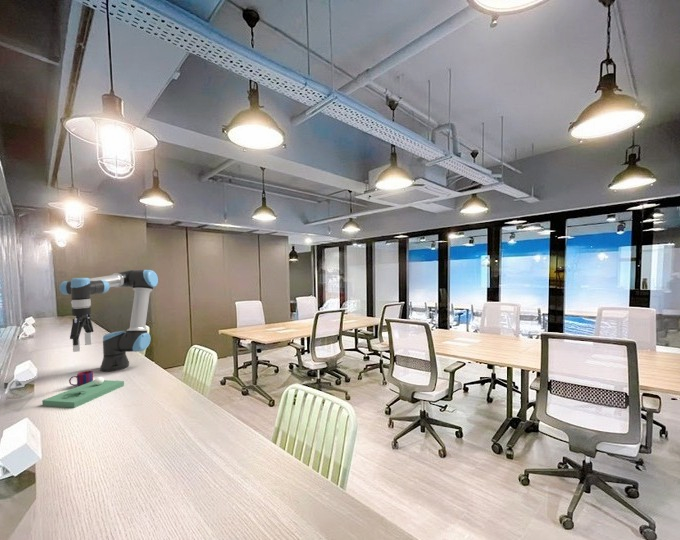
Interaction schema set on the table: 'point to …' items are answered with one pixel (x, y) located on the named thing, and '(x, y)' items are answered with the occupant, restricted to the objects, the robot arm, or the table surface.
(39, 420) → the table surface
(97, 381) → the ball
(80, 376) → the mug
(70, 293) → the robot arm
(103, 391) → the green
